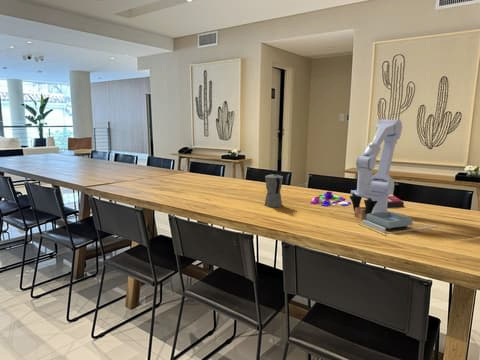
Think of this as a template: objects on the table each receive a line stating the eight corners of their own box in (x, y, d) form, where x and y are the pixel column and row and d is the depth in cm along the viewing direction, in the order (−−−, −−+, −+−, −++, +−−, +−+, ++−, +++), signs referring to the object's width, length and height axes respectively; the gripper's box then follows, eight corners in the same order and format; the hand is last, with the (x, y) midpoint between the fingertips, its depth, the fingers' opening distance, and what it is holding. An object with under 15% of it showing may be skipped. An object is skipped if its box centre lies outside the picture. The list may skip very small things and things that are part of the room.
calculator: (382, 201, 173) (372, 193, 188) (381, 209, 174) (371, 200, 189) (404, 201, 173) (392, 193, 187) (403, 209, 174) (391, 201, 188)
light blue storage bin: (365, 223, 143) (366, 213, 143) (388, 220, 148) (389, 211, 147) (387, 232, 132) (388, 221, 131) (411, 228, 136) (412, 218, 136)
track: (358, 224, 144) (358, 218, 144) (408, 218, 154) (408, 212, 154) (386, 236, 130) (387, 229, 129) (440, 228, 140) (440, 222, 139)
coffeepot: (261, 202, 182) (262, 169, 179) (278, 202, 184) (279, 168, 180) (268, 209, 167) (269, 173, 164) (287, 209, 169) (288, 173, 165)
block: (354, 218, 154) (355, 207, 153) (362, 217, 155) (363, 206, 154) (361, 221, 150) (361, 210, 149) (369, 220, 151) (370, 209, 150)
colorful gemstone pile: (338, 210, 170) (338, 201, 169) (303, 203, 184) (303, 195, 183) (359, 201, 188) (360, 193, 187) (326, 195, 202) (326, 188, 201)
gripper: (346, 181, 155) (344, 210, 157) (368, 186, 142) (366, 218, 144) (358, 180, 157) (356, 209, 160) (382, 185, 144) (379, 217, 146)
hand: (362, 213), depth 152 cm, fingers open, 7 cm apart
